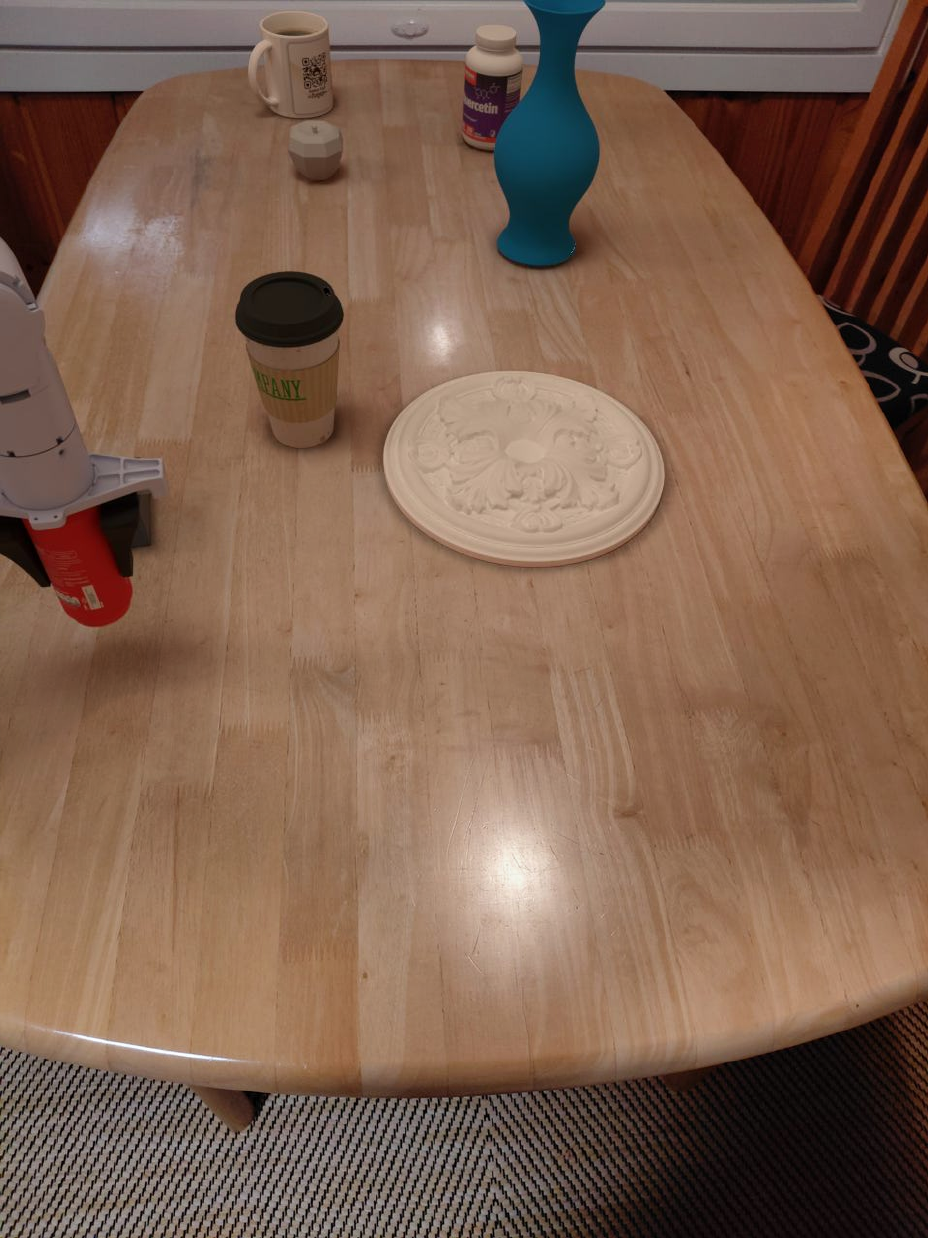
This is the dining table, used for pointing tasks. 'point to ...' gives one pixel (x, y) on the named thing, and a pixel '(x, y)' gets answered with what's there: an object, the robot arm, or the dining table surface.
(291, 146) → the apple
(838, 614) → the dining table surface
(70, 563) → the beverage can
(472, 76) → the pill bottle
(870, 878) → the dining table surface
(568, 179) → the vase
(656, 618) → the dining table surface
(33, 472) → the robot arm
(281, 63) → the mug
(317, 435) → the coffee cup
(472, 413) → the ceiling medallion
